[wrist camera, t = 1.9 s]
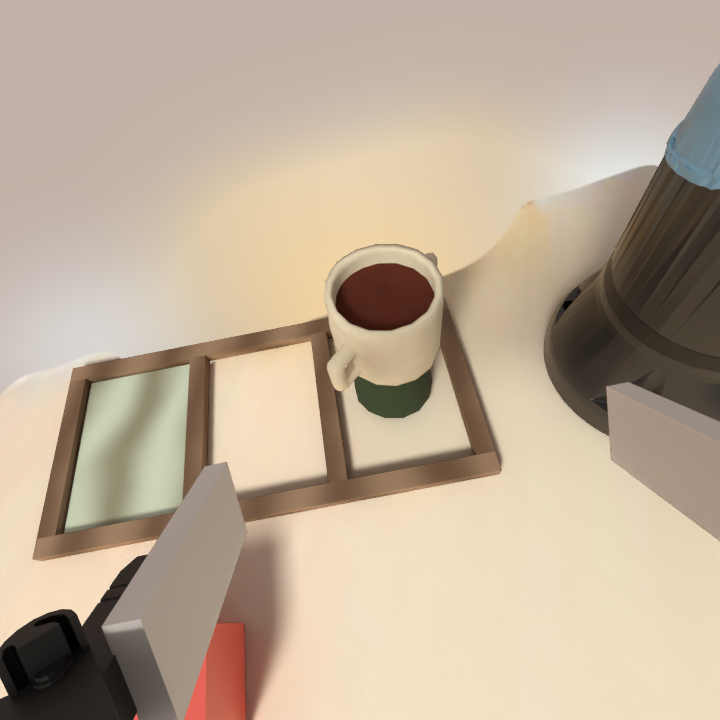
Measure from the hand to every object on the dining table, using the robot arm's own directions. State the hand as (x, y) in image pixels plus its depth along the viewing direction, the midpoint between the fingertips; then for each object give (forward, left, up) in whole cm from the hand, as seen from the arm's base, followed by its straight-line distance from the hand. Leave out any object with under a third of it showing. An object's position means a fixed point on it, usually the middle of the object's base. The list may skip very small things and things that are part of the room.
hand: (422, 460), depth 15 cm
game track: (+10, -11, -18) cm, 24 cm away
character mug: (-1, -12, -18) cm, 22 cm away
